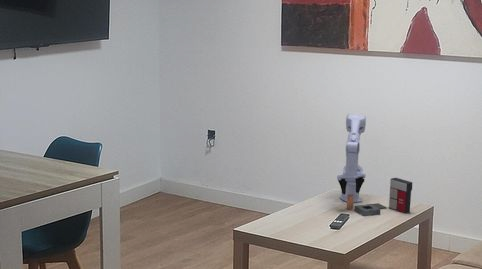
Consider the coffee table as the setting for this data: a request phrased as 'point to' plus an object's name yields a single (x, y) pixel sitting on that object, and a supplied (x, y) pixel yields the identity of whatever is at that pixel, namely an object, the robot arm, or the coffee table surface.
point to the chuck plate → (367, 210)
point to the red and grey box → (400, 195)
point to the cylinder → (350, 201)
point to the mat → (379, 206)
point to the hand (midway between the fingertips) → (350, 193)
